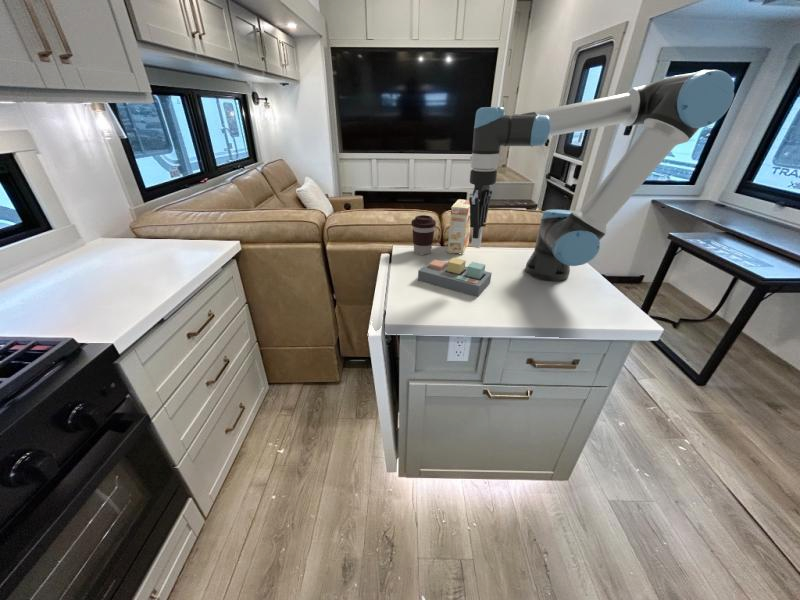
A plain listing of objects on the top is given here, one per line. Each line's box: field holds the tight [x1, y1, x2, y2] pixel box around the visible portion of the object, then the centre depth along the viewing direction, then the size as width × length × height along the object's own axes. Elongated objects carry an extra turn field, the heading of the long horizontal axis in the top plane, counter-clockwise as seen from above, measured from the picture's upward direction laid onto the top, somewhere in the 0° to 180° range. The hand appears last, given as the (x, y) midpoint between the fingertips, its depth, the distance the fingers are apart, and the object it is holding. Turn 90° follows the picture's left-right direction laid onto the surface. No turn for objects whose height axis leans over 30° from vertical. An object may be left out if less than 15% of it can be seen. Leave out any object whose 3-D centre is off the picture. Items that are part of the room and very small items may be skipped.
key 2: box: [466, 261, 486, 279], centre depth 108 cm, size 5×5×4 cm
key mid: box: [447, 257, 467, 274], centre depth 111 cm, size 5×5×4 cm
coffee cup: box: [410, 214, 437, 255], centre depth 134 cm, size 10×10×15 cm
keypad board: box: [417, 258, 493, 298], centre depth 112 cm, size 22×12×4 cm, turn 58°
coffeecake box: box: [447, 198, 471, 255], centre depth 138 cm, size 15×7×20 cm, turn 160°
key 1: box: [429, 259, 447, 271], centre depth 116 cm, size 5×5×4 cm
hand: (475, 246), depth 105 cm, fingers closed
